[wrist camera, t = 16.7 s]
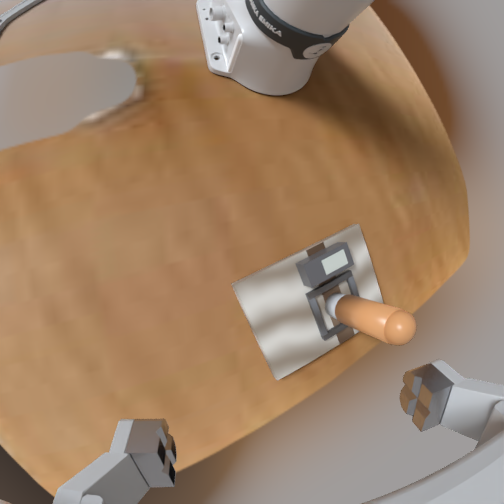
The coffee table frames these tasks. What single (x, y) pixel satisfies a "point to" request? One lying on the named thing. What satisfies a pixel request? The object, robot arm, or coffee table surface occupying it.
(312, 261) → the block
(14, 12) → the adjustable wrench
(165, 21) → the coffee table surface
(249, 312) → the metal mounting plate
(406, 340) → the tan rounded rod
